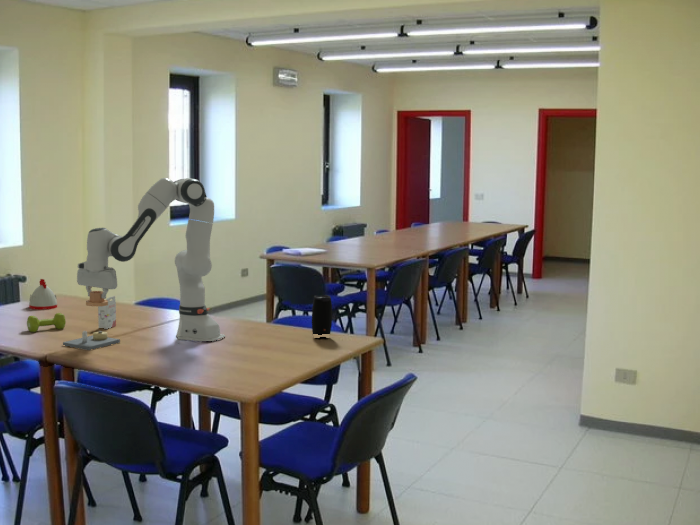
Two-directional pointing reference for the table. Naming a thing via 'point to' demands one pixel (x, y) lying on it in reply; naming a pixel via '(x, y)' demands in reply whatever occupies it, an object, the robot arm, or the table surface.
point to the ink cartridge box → (107, 314)
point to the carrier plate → (92, 341)
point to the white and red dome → (43, 297)
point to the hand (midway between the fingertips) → (96, 297)
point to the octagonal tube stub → (96, 299)
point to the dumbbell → (46, 322)
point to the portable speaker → (322, 315)
